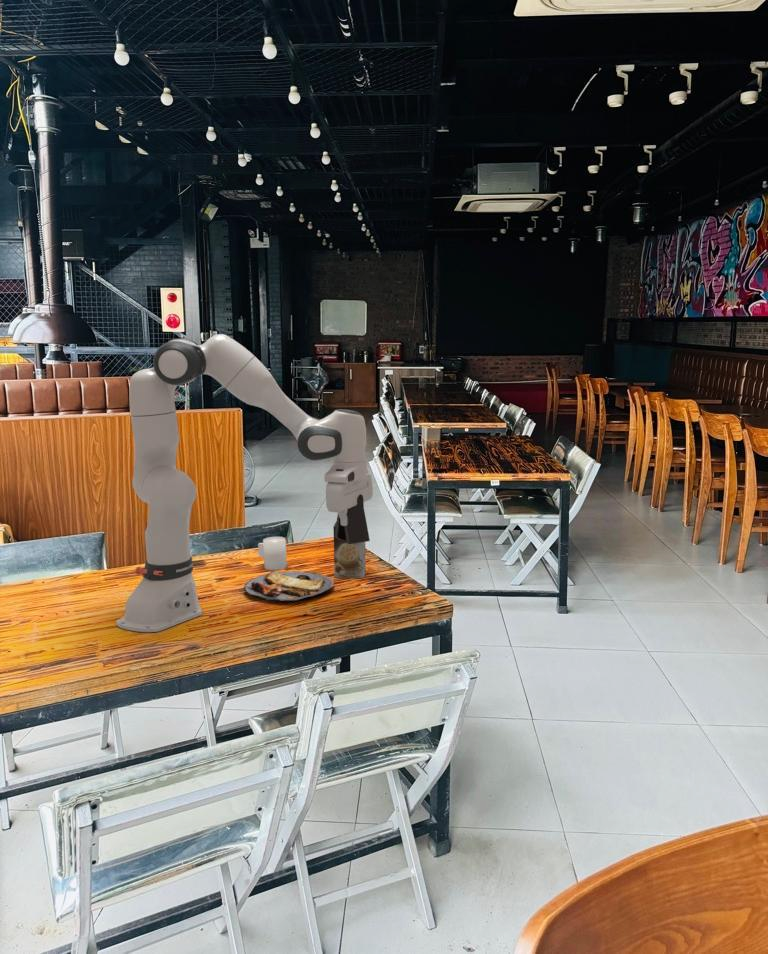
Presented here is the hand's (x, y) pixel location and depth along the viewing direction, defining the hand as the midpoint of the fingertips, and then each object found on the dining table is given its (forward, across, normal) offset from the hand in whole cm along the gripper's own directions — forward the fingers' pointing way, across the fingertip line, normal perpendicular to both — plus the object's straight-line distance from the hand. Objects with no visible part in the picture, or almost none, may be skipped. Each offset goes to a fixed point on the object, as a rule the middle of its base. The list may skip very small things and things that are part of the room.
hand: (351, 522), depth 202 cm
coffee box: (+22, -21, -12) cm, 33 cm away
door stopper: (+5, 0, 0) cm, 5 cm away
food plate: (+23, -2, -22) cm, 32 cm away
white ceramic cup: (+22, -20, -39) cm, 49 cm away
